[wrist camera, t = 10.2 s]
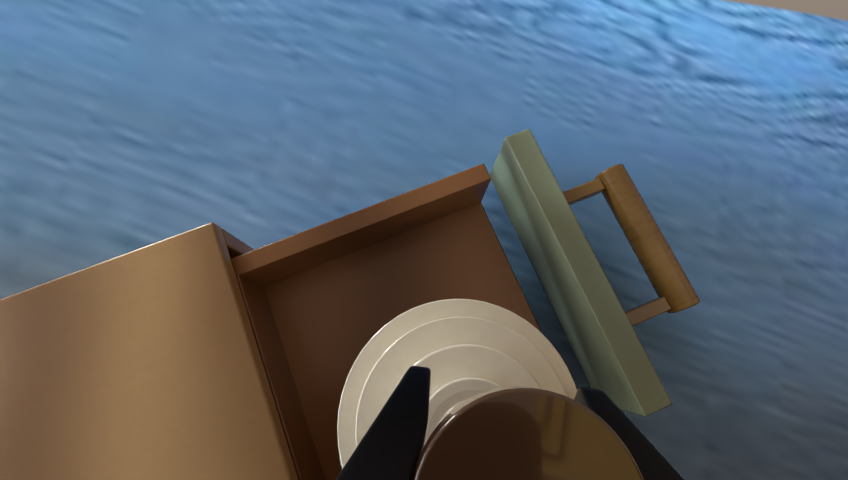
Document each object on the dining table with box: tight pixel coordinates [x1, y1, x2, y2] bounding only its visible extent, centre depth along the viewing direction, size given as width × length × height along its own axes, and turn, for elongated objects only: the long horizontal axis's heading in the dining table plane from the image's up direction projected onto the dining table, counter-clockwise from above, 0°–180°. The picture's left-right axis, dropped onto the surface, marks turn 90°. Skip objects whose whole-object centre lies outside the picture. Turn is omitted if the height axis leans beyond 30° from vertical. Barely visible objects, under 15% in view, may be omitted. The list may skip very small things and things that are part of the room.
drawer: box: [231, 129, 700, 480], centre depth 19 cm, size 19×12×4 cm, turn 112°
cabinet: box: [0, 223, 298, 480], centre depth 17 cm, size 16×14×6 cm
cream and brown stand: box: [337, 299, 643, 480], centre depth 10 cm, size 8×8×9 cm
